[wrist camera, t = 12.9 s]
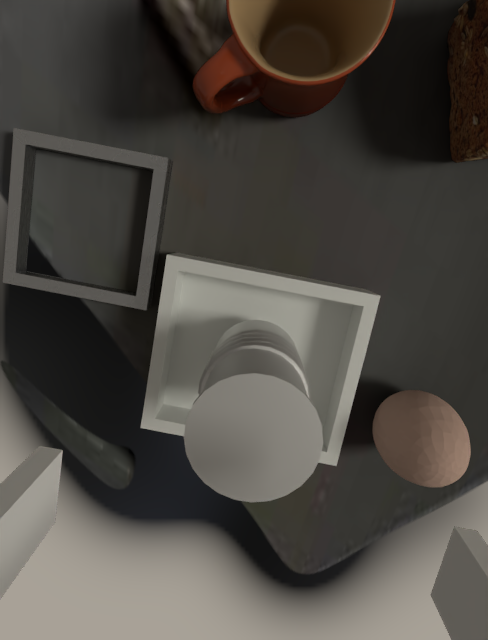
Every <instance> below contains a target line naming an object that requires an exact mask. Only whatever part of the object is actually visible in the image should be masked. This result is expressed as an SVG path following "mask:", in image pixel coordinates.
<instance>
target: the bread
mask: <svg viewBox="0 0 488 640" xmlns="http://www.w3.org/2000/svg"><path fill="white" fill-rule="evenodd" d="M458 11H459V15H458V16H457V17H456V18H454V20H455V21H454V23H453V24H452V26H451V28H450V30H449V32H448V41H447V48H448V50H449V52H450V57H449V59H448V66H447V74H448V81H449V84H450V87H451V89H450V97H451V103H452V106H451V112H450V118H449V128H450V151H451V156H452V160H453V161H455V162H456V163H457V162H463V161H473V160H481V159H488V0H470V1H468V2H466V3H464V4H463V6H461V7H460V8H459V9H458Z"/></svg>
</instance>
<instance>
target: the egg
mask: <svg viewBox="0 0 488 640" xmlns="http://www.w3.org/2000/svg"><path fill="white" fill-rule="evenodd" d="M373 438H374V442H375V445H376V448H377V450H378V451H379V453H380V455H381V457H382V458H383V460H384V461H385V463H386V464H387V465H388V466H389V467H390V468H391V469H392V470H393V471H394V472H395V473H396V474H398V475H400V476H401V477H403V478H404V479H406V480H408V481H410V482H413V483H415V484H418V485H421V486H426V487H443V486H446V485H449V484H452V483H454V482H455V481H456V480H458V479H459V478H460V477H461V476H462V475H463V474H464V473H465V471H466V469H467V467H468V464H469V459H470V454H471V450H470V440H469V435H468V431H467V428H466V427H465V425H464V423H463V421H462V420H461V418H460V416H459V415H458V413H457V412H456V411H455V410H454V409H453V408H452V407H451V406H450V405H449V404H448V403H446V402H445V401H443V400H442V399H441V398H439V397H437V396H436V395H433V394H430V393H427V392H423V391H419V390H407V391H401V392H398V393H396V394H393V395H391V396H389V397H388V398H387V399H386V400H384V401H383V402H382V403H381V405H380V406H379V408H378V410H377V411H376V413H375V416H374V420H373Z"/></svg>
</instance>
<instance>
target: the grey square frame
mask: <svg viewBox="0 0 488 640" xmlns="http://www.w3.org/2000/svg"><path fill="white" fill-rule="evenodd" d="M36 148H37V149H42V150H47V151H52V152H57V153H62V154H67V155H73V156H78V157H83V158H88V159H93V160H98V161H103V162H109V163H114V164H119V165H124V166H129V167H134V168H140V169H145V170H150V171H153V178H152V185H151V192H150V200H149V207H148V214H147V221H146V228H145V236H144V243H143V250H142V257H141V264H140V272H139V279H138V286H137V293H135V292H129V291H124V290H119V289H114V288H109V287H104V286H99V285H93V284H88V283H83V282H78V281H73V280H68V279H63V278H57V277H52V276H47V275H42V274H37V273H32V272H27V271H26V262H27V249H28V239H29V227H30V215H31V203H32V191H33V179H34V167H35V155H36ZM172 162H173V161H171V160H170V159H169V158H166V157H161V156H156V155H150V154H145V153H140V152H135V151H130V150H125V149H120V148H114V147H109V146H104V145H99V144H94V143H89V142H84V141H78V140H73V139H68V138H63V137H58V136H53V135H47V134H42V133H37V132H32V131H27V130H22V129H17V128H14V132H13V145H12V159H11V173H10V187H9V201H8V215H7V228H6V243H5V256H4V270H3V283H8V284H13V285H19V286H23V287H29V288H33V289H39V290H44V291H49V292H54V293H59V294H64V295H70V296H75V297H80V298H85V299H90V300H95V301H100V302H105V303H111V304H116V305H121V306H126V307H131V308H136V309H142V310H148V309H150V308H151V305H152V298H153V292H154V285H155V278H156V271H157V264H158V258H159V251H160V244H161V237H162V230H163V224H164V217H165V210H166V203H167V196H168V190H169V183H170V176H171V169H172Z"/></svg>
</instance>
